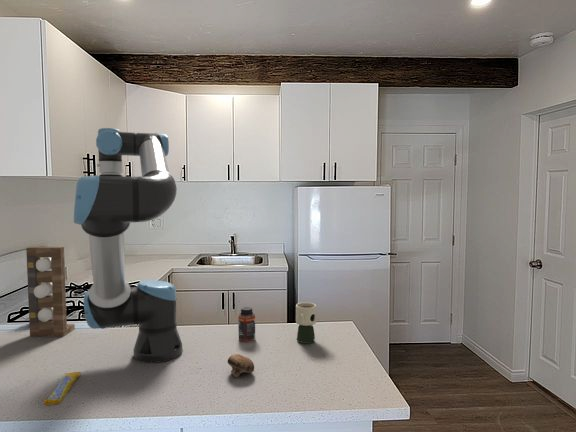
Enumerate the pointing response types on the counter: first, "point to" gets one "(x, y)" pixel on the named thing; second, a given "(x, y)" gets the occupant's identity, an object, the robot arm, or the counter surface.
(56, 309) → the switch panel
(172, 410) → the counter surface
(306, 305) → the character mug
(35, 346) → the counter surface
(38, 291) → the middle button
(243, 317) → the supplement bottle
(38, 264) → the top button
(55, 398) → the candy bar
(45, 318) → the bottom button
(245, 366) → the mushroom
